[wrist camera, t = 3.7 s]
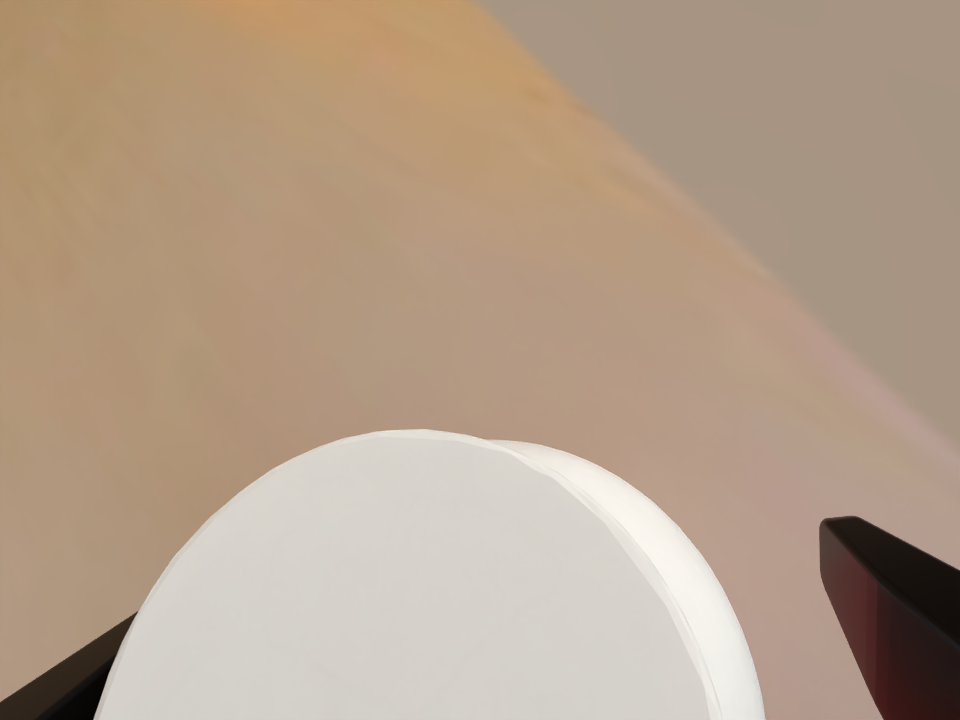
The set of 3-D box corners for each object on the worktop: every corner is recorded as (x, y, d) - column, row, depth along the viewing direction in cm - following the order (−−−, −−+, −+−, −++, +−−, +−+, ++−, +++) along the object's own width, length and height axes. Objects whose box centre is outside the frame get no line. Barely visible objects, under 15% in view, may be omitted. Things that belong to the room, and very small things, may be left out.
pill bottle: (443, 837, 13) (-139, 1522, 3) (413, 548, 16) (43, 428, 6) (733, 800, 12) (1186, 1575, 2) (650, 501, 15) (694, 263, 5)
